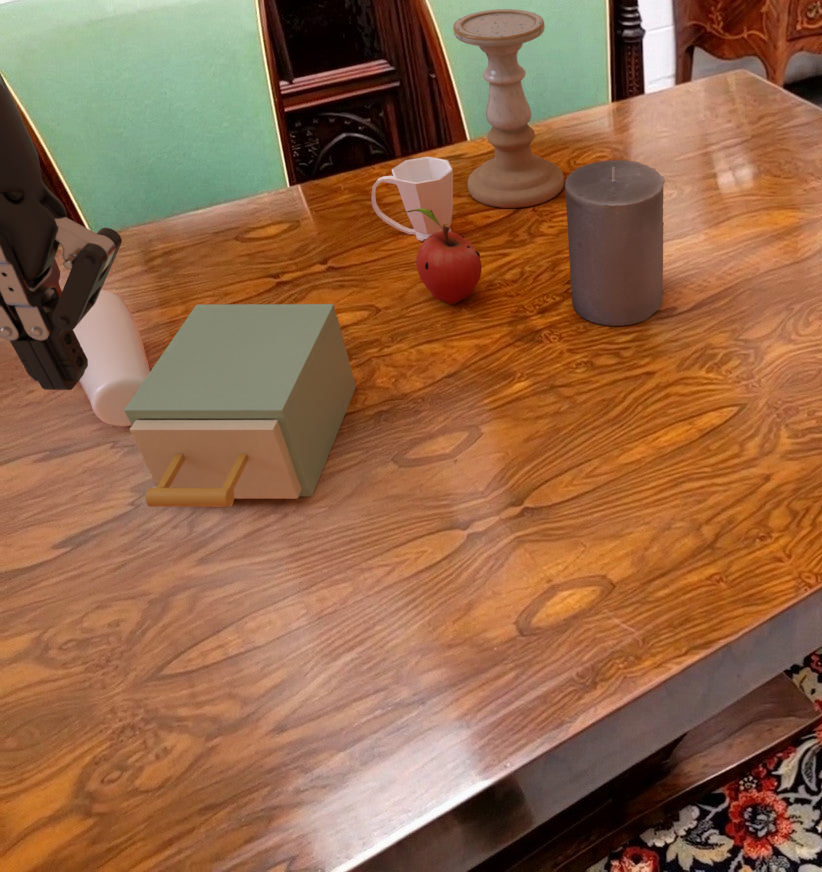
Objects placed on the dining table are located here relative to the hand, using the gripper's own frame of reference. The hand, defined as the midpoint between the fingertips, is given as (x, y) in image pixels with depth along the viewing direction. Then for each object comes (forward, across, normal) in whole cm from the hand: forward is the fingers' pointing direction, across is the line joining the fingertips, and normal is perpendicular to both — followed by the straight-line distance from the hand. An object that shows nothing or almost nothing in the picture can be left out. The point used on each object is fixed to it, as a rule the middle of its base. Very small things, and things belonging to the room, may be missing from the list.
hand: (65, 381), depth 55 cm
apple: (+21, -12, -42) cm, 49 cm away
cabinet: (+21, 0, -19) cm, 28 cm away
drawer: (+20, 0, -15) cm, 25 cm away
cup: (+21, -6, -56) cm, 60 cm away
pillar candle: (+21, -30, -41) cm, 55 cm away
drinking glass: (+18, +12, -20) cm, 30 cm away
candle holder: (+21, -16, -68) cm, 73 cm away
